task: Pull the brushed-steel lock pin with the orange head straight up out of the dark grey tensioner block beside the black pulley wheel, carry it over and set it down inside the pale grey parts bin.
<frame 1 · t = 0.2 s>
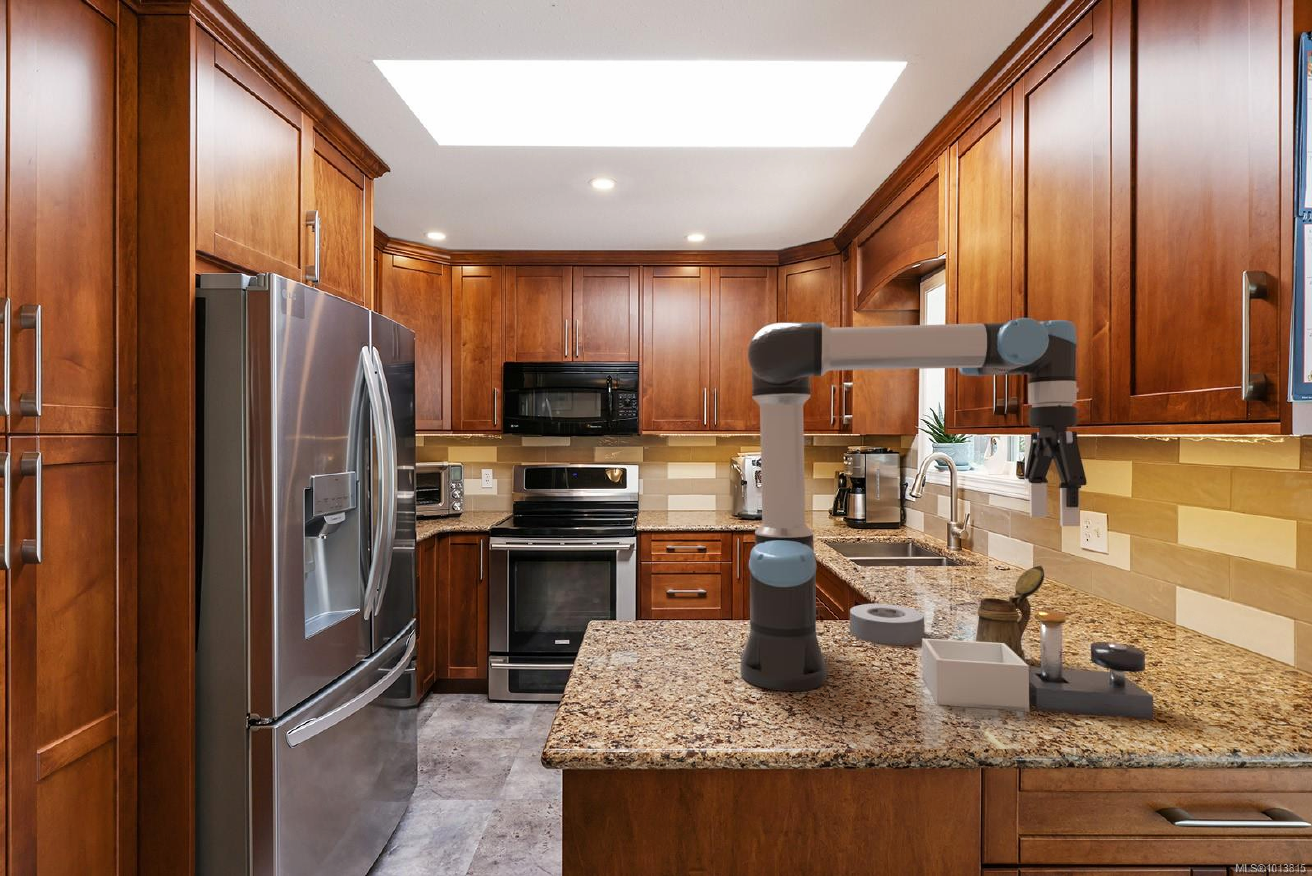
hand: (1053, 521, 115), 27 cm above the counter, fingers open, 13 cm apart
tensioner block: (1079, 701, 101), on the counter
parts bin: (972, 693, 105), on the counter
lock pin: (1051, 699, 102), resting in tensioner block
tape roll: (886, 636, 138), on the counter
wooden mug: (1009, 660, 122), on the counter
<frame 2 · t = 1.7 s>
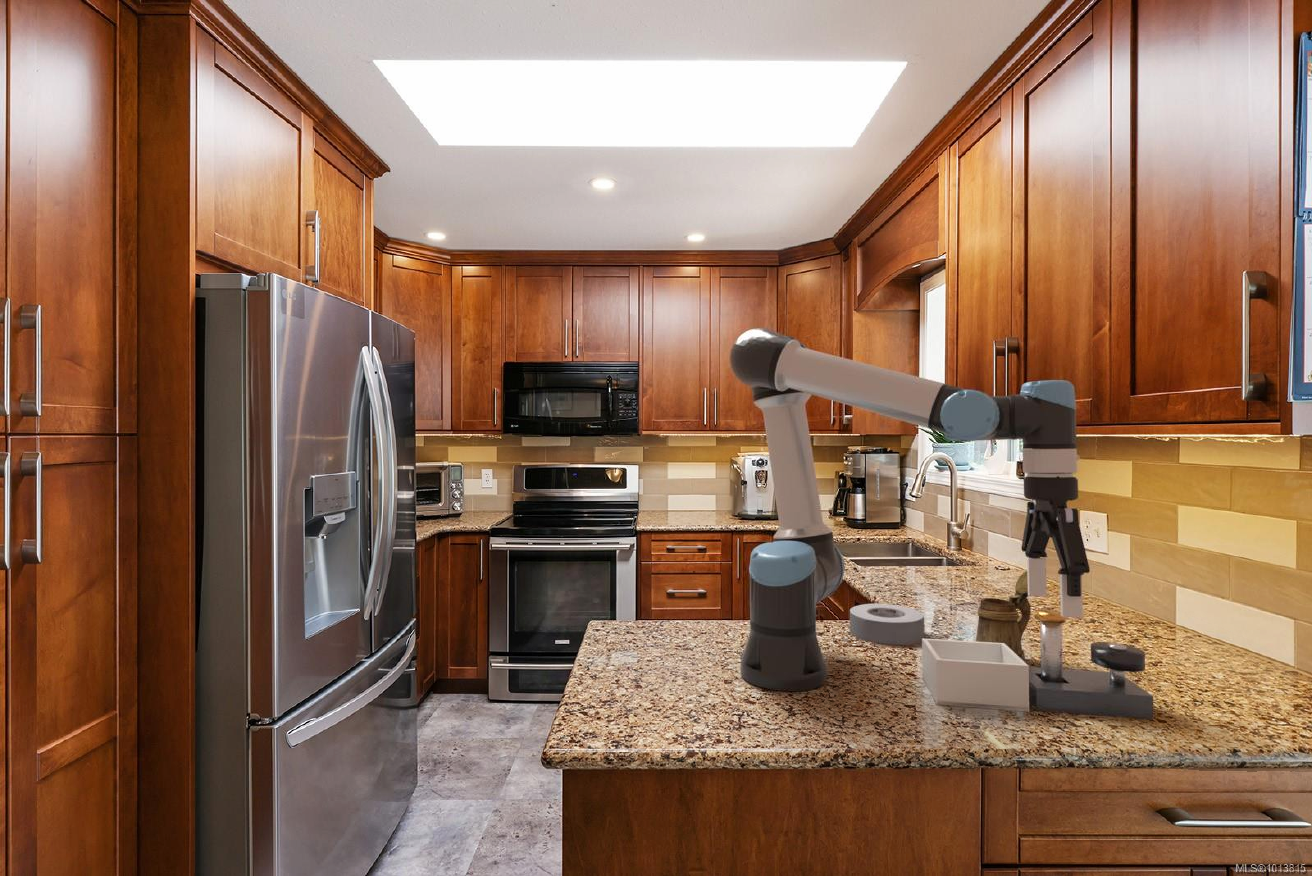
hand: (1053, 606, 102), 15 cm above the counter, fingers open, 13 cm apart
nothing on the counter moved.
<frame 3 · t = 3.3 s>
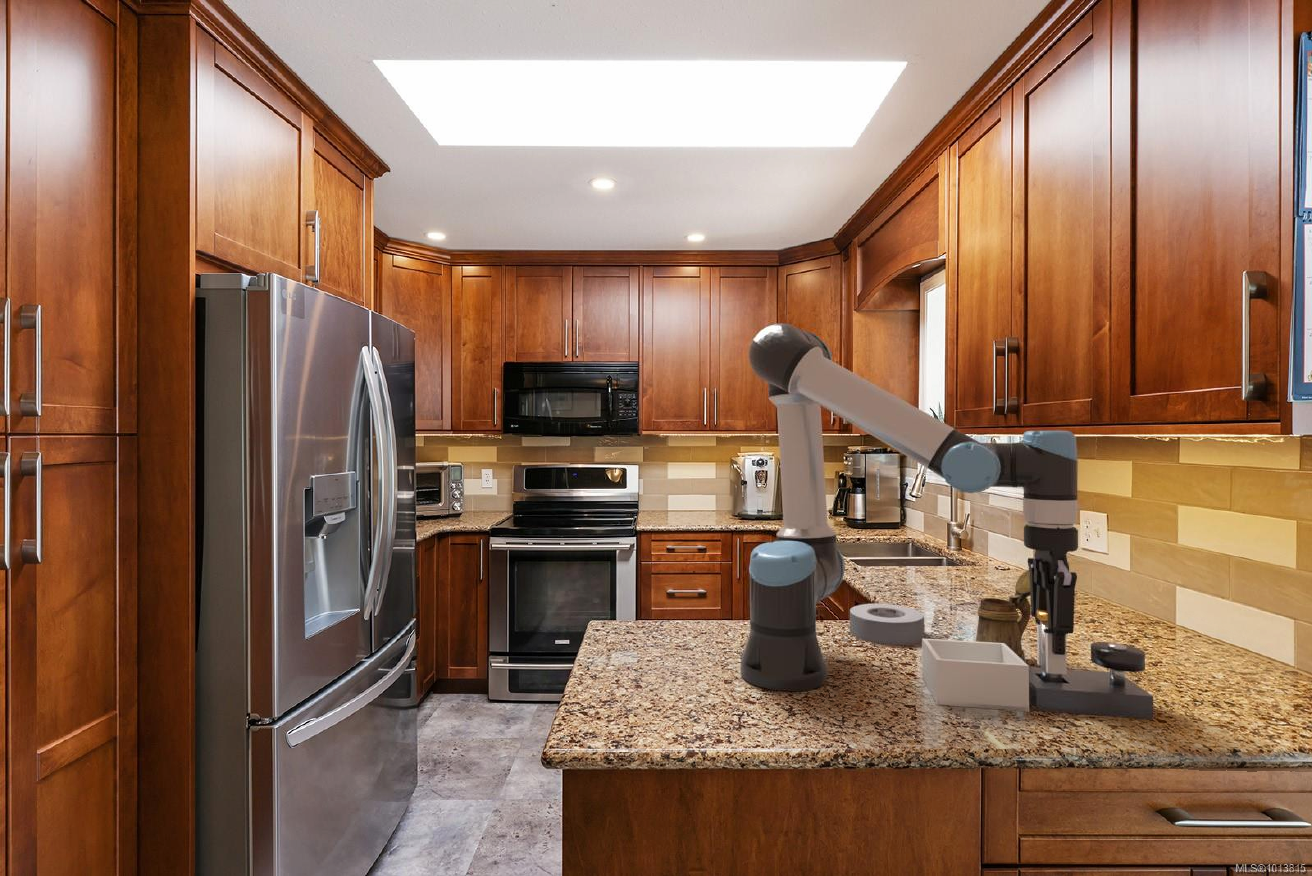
hand: (1051, 668, 102), 5 cm above the counter, fingers closed on lock pin, 3 cm apart
lock pin: (1051, 699, 102), resting in tensioner block, touching gripper
everything else where it was.
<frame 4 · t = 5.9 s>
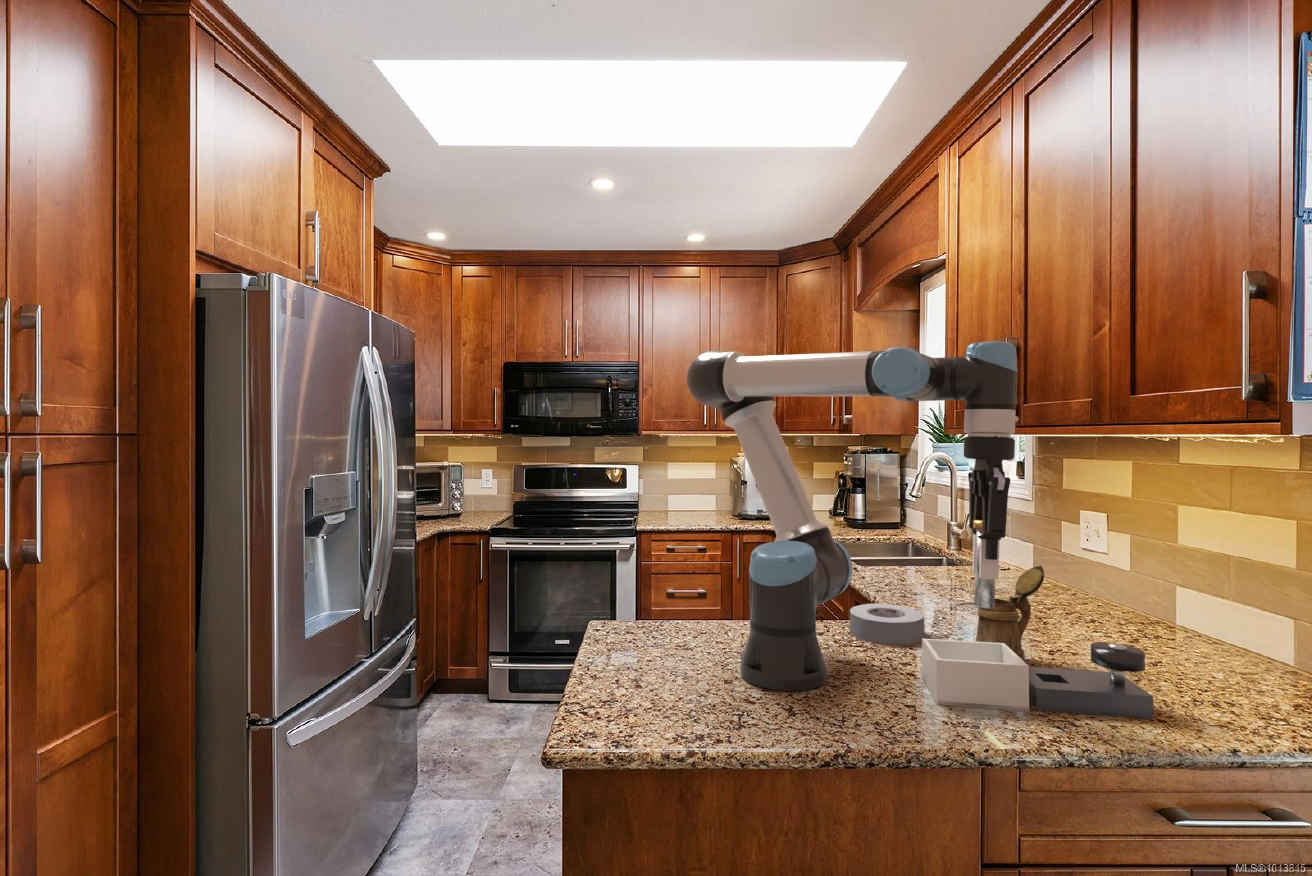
hand: (985, 575, 105), 20 cm above the counter, fingers closed on lock pin, 3 cm apart
lock pin: (984, 605, 105), point 15 cm above the counter, touching gripper
everything else where it was.
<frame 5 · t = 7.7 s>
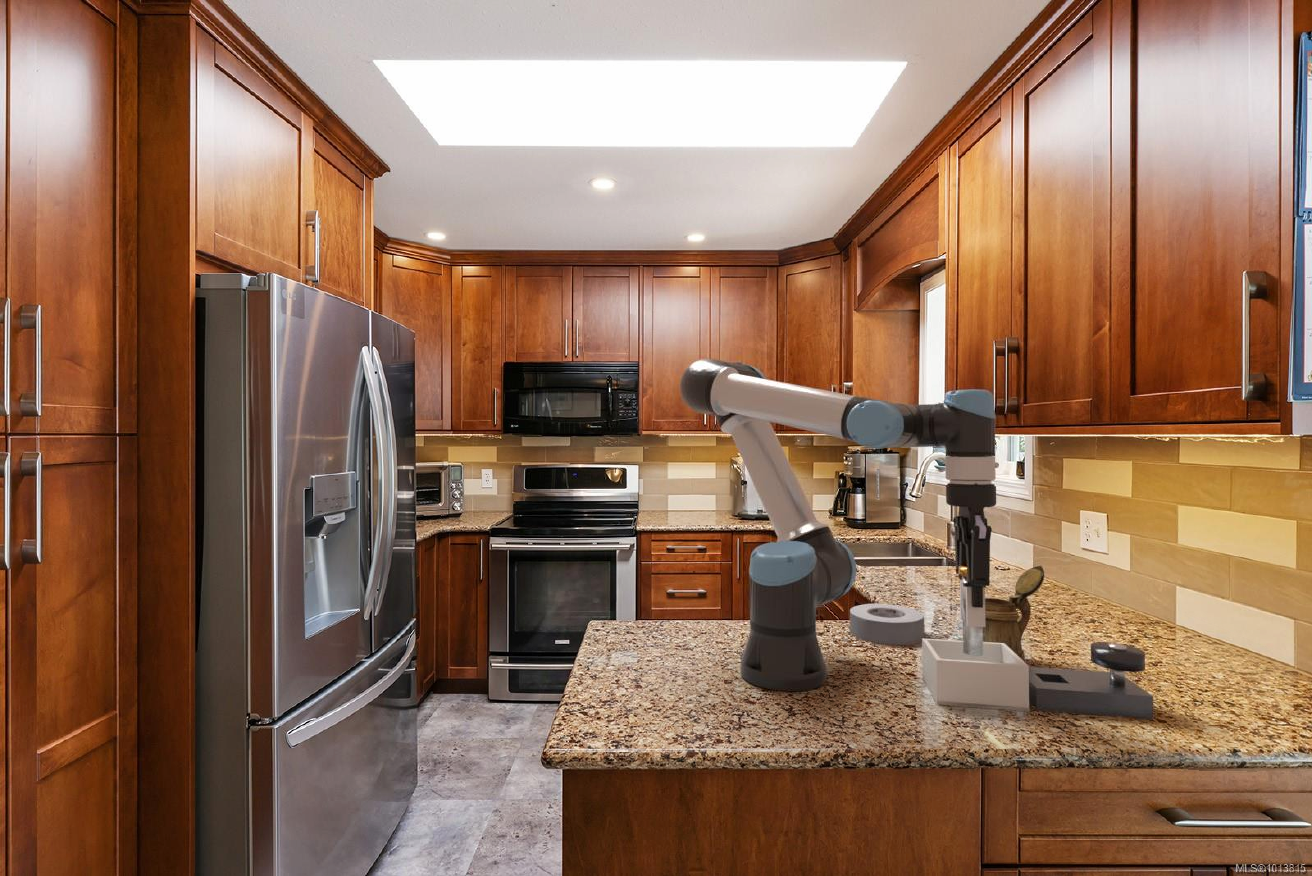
hand: (972, 622, 105), 12 cm above the counter, fingers closed on lock pin, 3 cm apart
lock pin: (973, 652, 105), point 7 cm above the counter, touching gripper
everything else where it was.
when the fingers open (7 cm above the counter, at t = 8.8 s): lock pin drops 1 cm, resting on parts bin.
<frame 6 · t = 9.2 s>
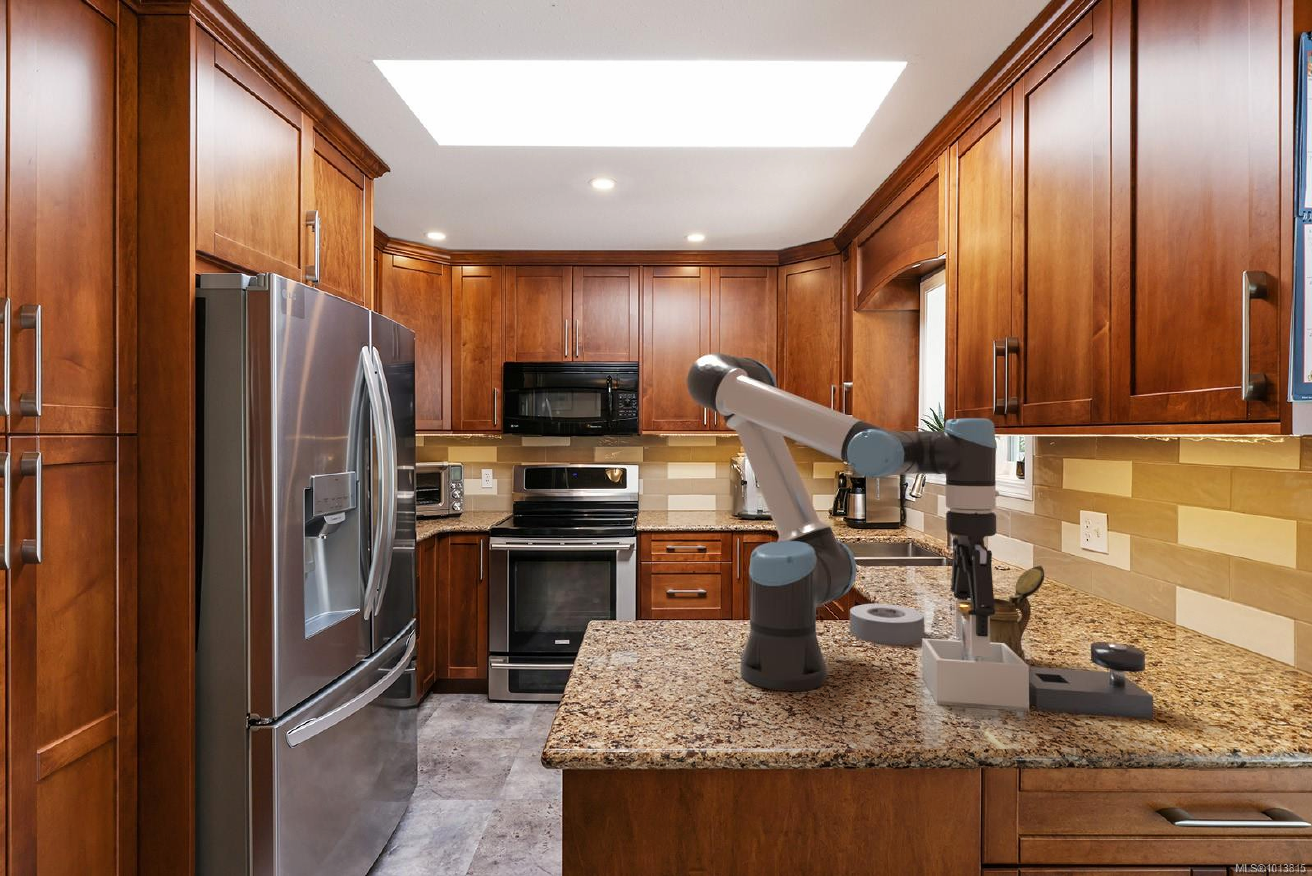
hand: (971, 645, 105), 8 cm above the counter, fingers open, 9 cm apart
lock pin: (971, 690, 105), point 1 cm above the counter, touching parts bin
everything else where it was.
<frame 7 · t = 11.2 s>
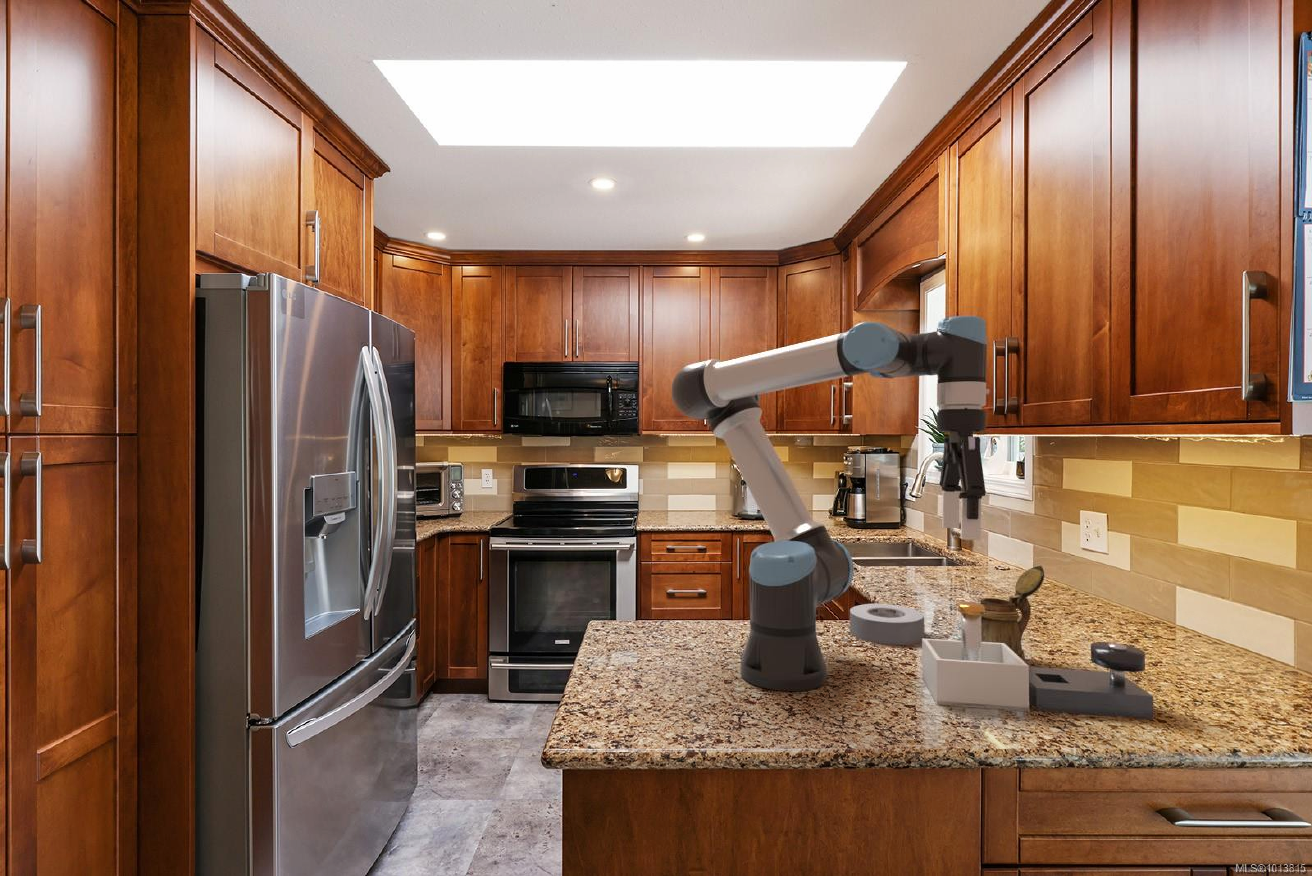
hand: (959, 533, 107), 26 cm above the counter, fingers open, 13 cm apart
nothing on the counter moved.
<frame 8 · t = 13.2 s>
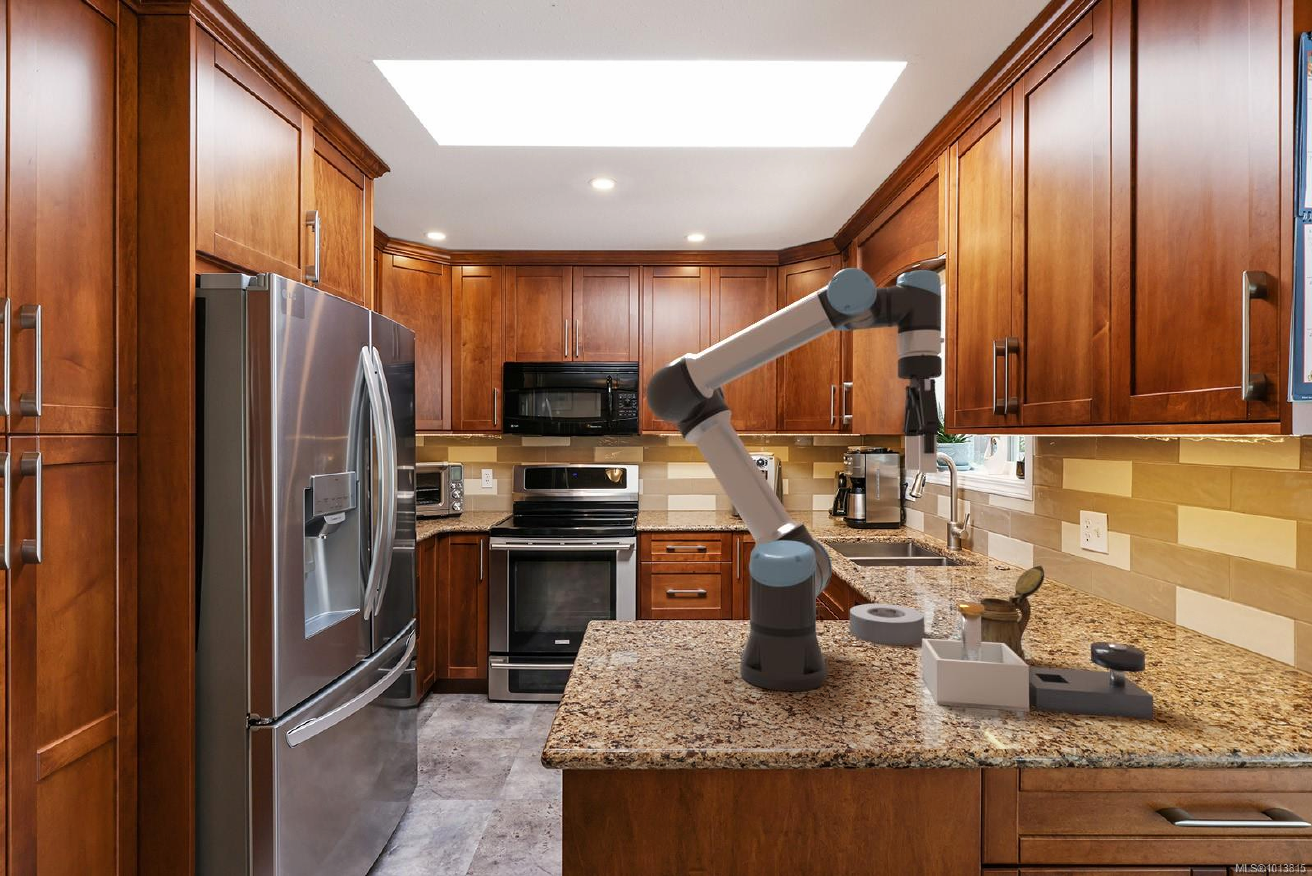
hand: (920, 471, 116), 37 cm above the counter, fingers open, 13 cm apart
nothing on the counter moved.
at the end: lock pin inside the target area on the parts bin (0.1 cm from its centre), point 0.6 cm above the parts bin's base; the gripper is holding nothing; lock pin moved 12.1 cm from its start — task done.
